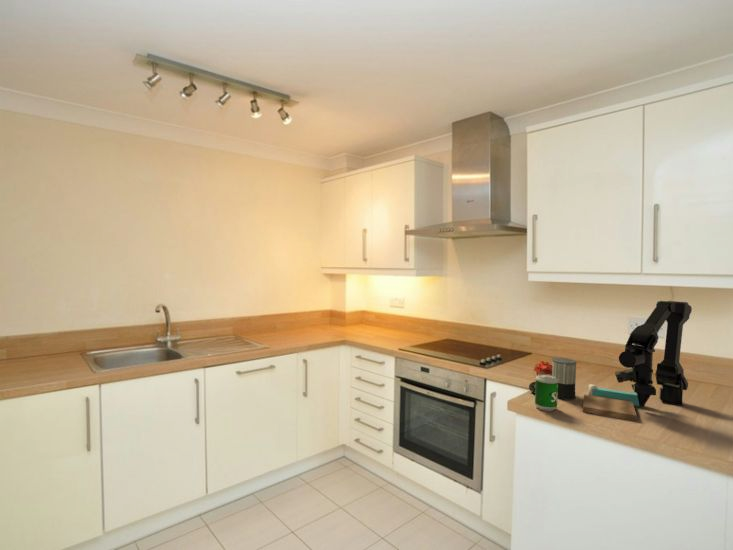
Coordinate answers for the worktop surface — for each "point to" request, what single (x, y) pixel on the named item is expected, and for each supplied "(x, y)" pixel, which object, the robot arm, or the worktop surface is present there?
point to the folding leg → (614, 394)
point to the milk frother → (563, 377)
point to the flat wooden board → (609, 407)
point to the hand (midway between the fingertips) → (641, 407)
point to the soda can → (546, 392)
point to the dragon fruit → (543, 368)
